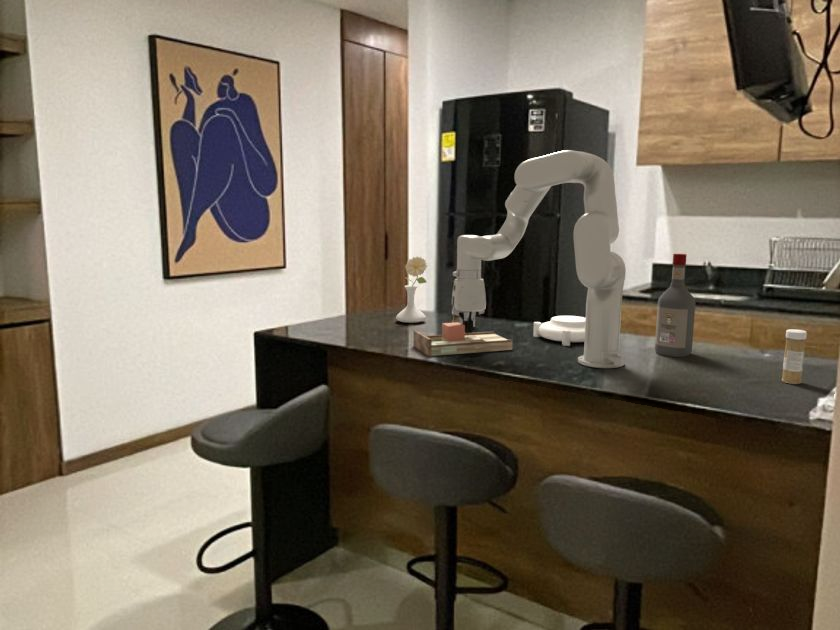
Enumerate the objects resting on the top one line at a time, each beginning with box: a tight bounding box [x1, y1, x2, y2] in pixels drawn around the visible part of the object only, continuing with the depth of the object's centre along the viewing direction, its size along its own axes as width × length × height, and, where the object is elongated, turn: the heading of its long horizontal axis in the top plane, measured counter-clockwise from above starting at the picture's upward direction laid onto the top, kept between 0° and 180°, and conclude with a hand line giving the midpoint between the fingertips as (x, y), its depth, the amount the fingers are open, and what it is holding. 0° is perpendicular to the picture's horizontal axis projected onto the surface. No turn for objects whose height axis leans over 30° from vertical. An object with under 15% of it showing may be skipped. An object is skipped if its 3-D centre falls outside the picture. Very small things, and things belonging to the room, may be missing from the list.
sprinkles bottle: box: [781, 328, 808, 385], centre depth 167 cm, size 5×5×13 cm
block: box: [441, 322, 465, 341], centre depth 208 cm, size 6×6×4 cm
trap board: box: [413, 330, 513, 357], centre depth 206 cm, size 14×28×5 cm, turn 109°
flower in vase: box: [395, 256, 428, 324], centre depth 247 cm, size 13×11×25 cm
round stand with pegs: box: [532, 315, 586, 347], centre depth 220 cm, size 24×24×7 cm
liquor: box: [654, 253, 696, 358], centre depth 197 cm, size 9×9×30 cm
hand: (467, 332), depth 210 cm, fingers closed
